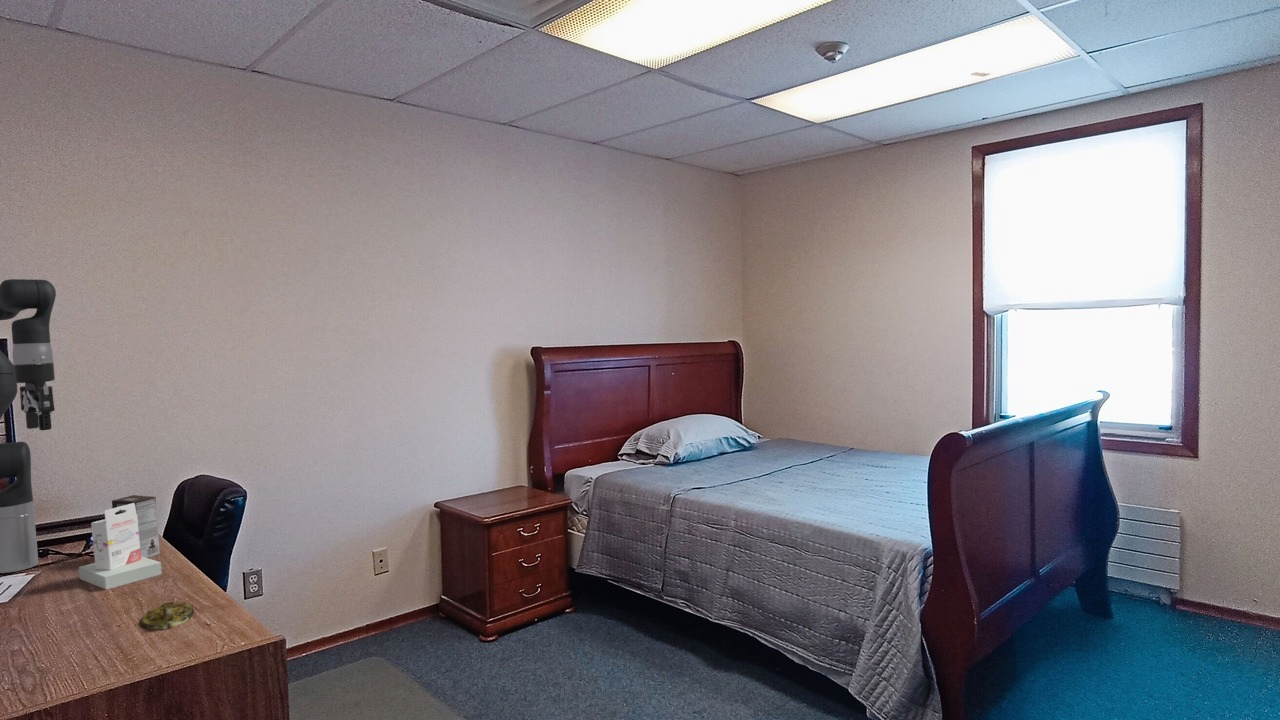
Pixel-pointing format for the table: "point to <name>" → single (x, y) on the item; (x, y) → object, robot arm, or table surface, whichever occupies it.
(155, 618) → the olive green oval lump
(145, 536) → the coffee box
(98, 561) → the ink cartridge box
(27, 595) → the table surface
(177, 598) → the table surface
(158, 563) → the plinth
